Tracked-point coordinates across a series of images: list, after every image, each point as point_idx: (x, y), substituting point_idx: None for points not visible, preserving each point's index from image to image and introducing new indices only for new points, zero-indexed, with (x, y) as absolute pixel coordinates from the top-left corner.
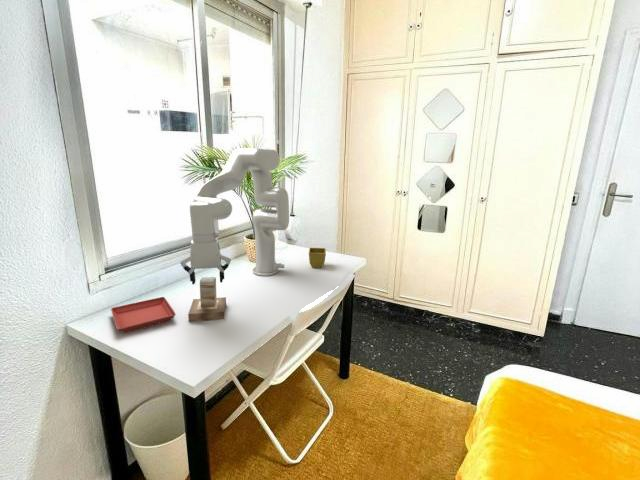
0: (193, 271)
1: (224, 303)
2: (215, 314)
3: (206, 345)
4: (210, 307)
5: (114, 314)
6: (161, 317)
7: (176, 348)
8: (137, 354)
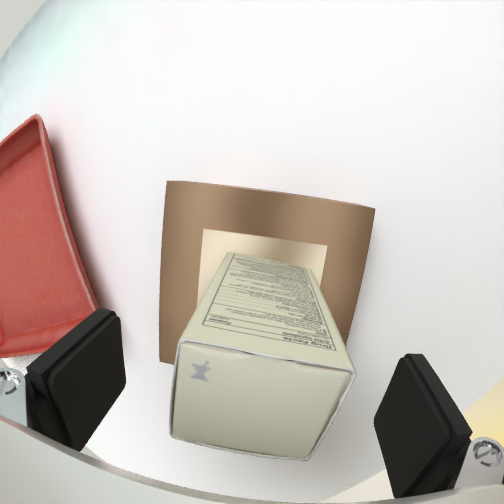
0: (47, 419)
1: (355, 297)
2: None
3: (247, 475)
4: None
5: None
6: (63, 278)
7: (165, 461)
8: None
